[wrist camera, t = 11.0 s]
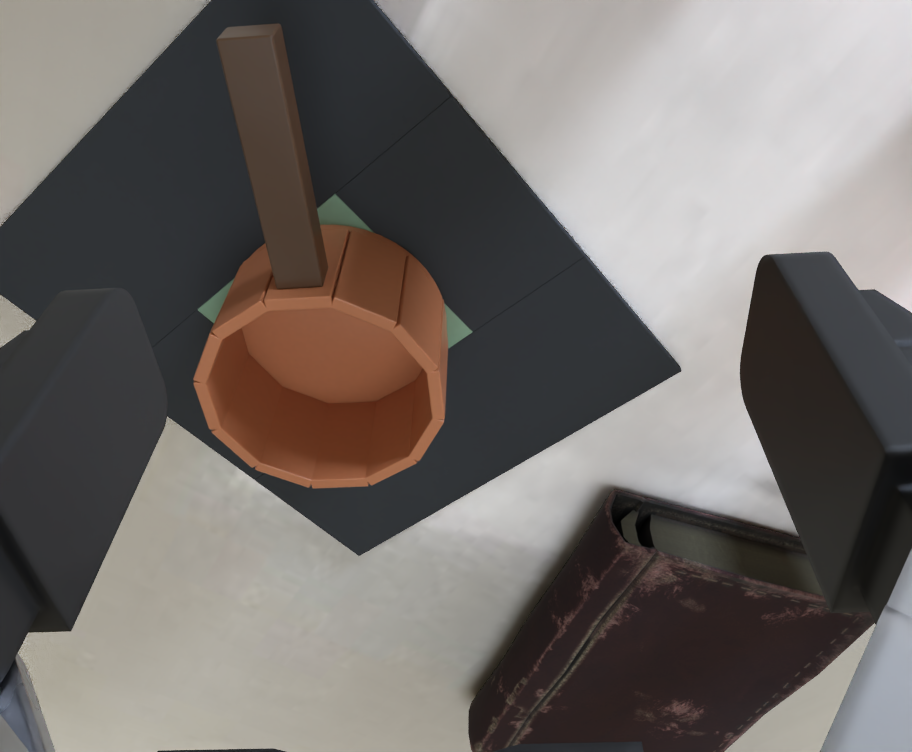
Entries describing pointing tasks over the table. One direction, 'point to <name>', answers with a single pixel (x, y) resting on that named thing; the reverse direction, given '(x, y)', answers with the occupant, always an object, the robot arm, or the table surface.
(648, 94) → the table surface
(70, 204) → the placemat
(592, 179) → the table surface
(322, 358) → the saucepan
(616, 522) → the diary
